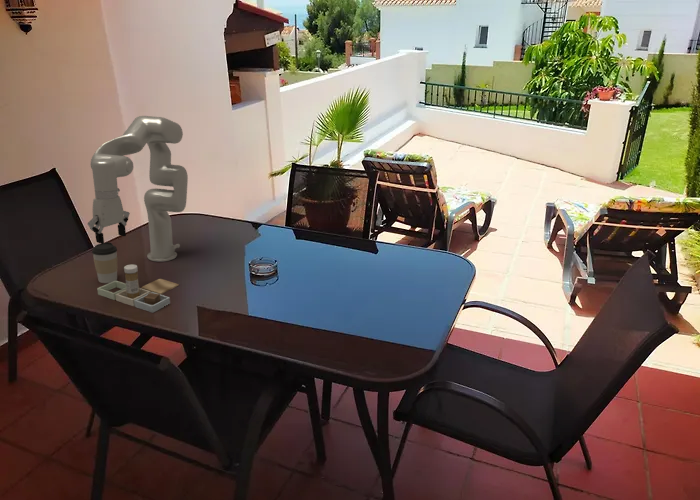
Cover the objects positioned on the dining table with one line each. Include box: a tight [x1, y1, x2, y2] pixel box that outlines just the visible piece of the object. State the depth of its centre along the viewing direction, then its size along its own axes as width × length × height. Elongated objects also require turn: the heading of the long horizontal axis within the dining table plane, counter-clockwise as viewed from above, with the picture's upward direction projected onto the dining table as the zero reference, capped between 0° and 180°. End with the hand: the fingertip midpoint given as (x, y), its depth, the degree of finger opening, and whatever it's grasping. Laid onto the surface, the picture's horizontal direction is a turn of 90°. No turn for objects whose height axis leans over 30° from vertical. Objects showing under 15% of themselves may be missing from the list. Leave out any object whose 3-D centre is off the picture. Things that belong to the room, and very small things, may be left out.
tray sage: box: [96, 280, 127, 301], centre depth 198 cm, size 9×9×3 cm
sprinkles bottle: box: [123, 264, 140, 299], centre depth 193 cm, size 5×5×14 cm
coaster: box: [140, 278, 180, 295], centre depth 206 cm, size 10×10×1 cm
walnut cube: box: [144, 293, 160, 305], centre depth 191 cm, size 4×4×4 cm
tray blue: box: [134, 292, 171, 314], centre depth 191 cm, size 9×9×3 cm
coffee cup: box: [91, 241, 118, 284], centre depth 207 cm, size 9×9×15 cm
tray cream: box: [115, 287, 151, 307], centre depth 195 cm, size 9×9×3 cm
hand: (111, 239), depth 190 cm, fingers open, 9 cm apart
